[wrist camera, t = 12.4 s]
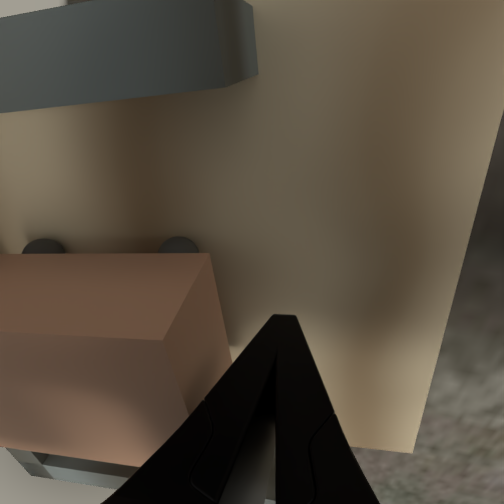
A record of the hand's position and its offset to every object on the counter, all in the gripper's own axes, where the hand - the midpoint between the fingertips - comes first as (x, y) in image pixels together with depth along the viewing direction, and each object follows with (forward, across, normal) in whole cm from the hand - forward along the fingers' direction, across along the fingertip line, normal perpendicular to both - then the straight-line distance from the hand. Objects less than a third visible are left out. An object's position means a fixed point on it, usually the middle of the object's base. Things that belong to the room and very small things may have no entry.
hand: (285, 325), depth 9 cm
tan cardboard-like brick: (+1, +5, 0) cm, 5 cm away
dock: (+4, +3, 0) cm, 5 cm away
